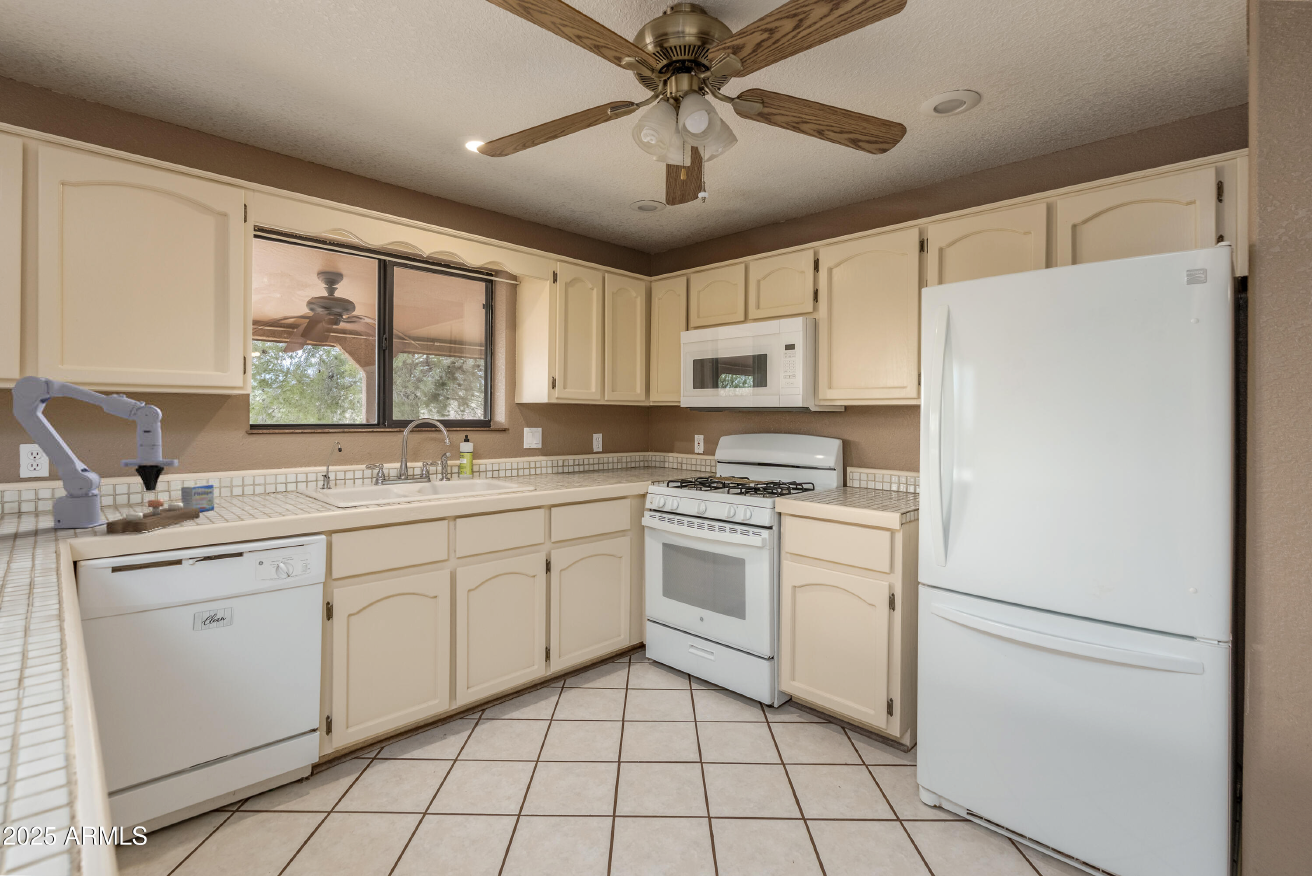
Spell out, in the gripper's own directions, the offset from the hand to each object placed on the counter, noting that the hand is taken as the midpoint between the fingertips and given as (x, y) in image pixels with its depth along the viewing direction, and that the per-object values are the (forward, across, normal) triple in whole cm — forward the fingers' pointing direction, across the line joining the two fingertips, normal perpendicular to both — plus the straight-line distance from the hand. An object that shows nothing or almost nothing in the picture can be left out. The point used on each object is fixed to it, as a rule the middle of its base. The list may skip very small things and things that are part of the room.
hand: (150, 490), depth 183 cm
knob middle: (+7, +5, -6) cm, 10 cm away
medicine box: (+10, +3, +18) cm, 21 cm away
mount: (+9, +5, -6) cm, 12 cm away
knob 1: (+9, +5, -15) cm, 18 cm away
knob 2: (+9, +5, +3) cm, 11 cm away
